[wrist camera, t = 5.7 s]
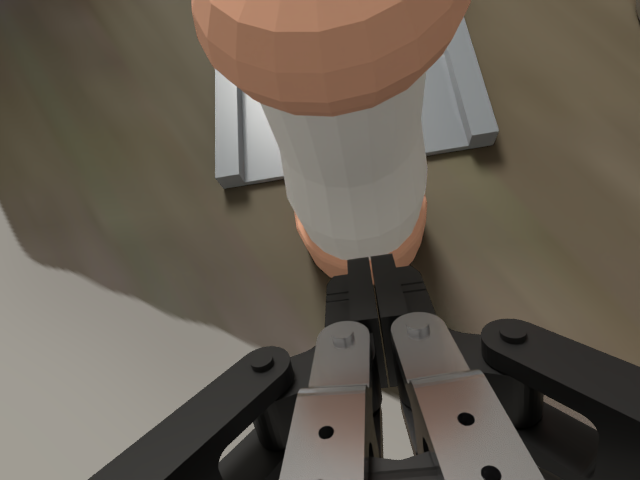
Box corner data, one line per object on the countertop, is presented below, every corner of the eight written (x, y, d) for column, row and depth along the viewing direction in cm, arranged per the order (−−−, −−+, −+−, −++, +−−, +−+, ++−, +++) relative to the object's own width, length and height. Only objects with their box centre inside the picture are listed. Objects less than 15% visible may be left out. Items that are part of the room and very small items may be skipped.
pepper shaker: (351, 311, 24) (250, 69, 6) (283, 222, 27) (77, -124, 9) (448, 237, 25) (606, -173, 7) (372, 158, 27) (344, -282, 10)
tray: (428, -72, 34) (430, -92, 33) (493, 144, 26) (499, 131, 25) (221, -26, 36) (215, -43, 35) (223, 188, 28) (215, 178, 27)
